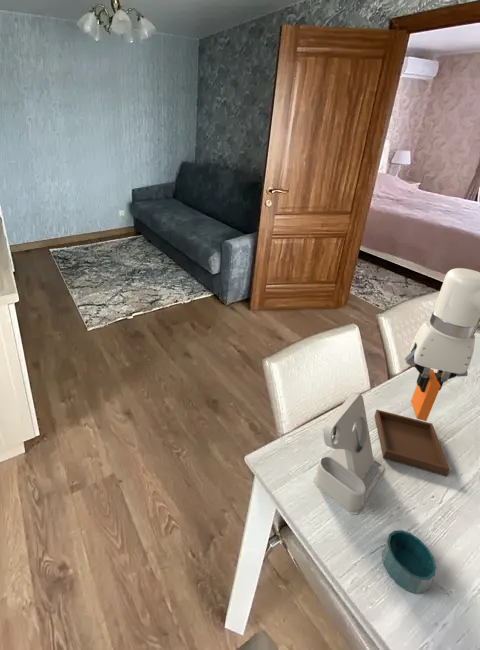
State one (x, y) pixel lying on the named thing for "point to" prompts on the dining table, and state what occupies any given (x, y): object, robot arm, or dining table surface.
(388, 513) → the dining table surface
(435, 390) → the block
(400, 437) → the tray
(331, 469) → the phone holder
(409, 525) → the dining table surface
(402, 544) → the cup
